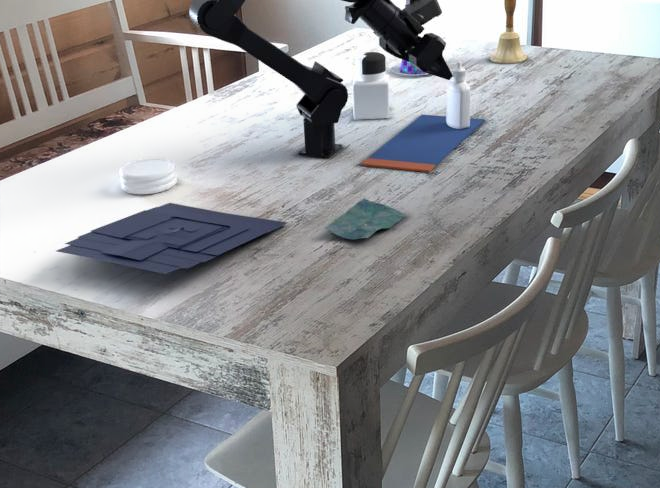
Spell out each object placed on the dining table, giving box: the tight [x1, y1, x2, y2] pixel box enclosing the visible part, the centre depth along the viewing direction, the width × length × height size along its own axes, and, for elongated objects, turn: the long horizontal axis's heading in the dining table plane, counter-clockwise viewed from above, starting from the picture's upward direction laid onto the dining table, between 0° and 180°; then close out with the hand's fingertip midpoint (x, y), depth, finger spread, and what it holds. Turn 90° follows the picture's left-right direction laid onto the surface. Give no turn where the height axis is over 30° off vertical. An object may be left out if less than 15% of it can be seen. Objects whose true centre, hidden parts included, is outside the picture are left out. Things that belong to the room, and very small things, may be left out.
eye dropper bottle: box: [445, 61, 471, 129], centre depth 198 cm, size 4×6×12 cm
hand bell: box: [489, 0, 528, 65], centre depth 236 cm, size 8×8×16 cm
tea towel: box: [360, 114, 485, 173], centre depth 195 cm, size 30×13×1 cm, turn 152°
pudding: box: [390, 59, 429, 77], centre depth 236 cm, size 12×12×5 cm
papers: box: [55, 202, 289, 275], centre depth 160 cm, size 24×30×4 cm
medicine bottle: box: [352, 51, 390, 121], centre depth 209 cm, size 7×7×12 cm
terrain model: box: [324, 198, 407, 240], centre depth 162 cm, size 13×8×2 cm, turn 146°
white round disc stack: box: [118, 157, 178, 195], centre depth 186 cm, size 10×10×4 cm
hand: (440, 72), depth 194 cm, fingers open, 9 cm apart
